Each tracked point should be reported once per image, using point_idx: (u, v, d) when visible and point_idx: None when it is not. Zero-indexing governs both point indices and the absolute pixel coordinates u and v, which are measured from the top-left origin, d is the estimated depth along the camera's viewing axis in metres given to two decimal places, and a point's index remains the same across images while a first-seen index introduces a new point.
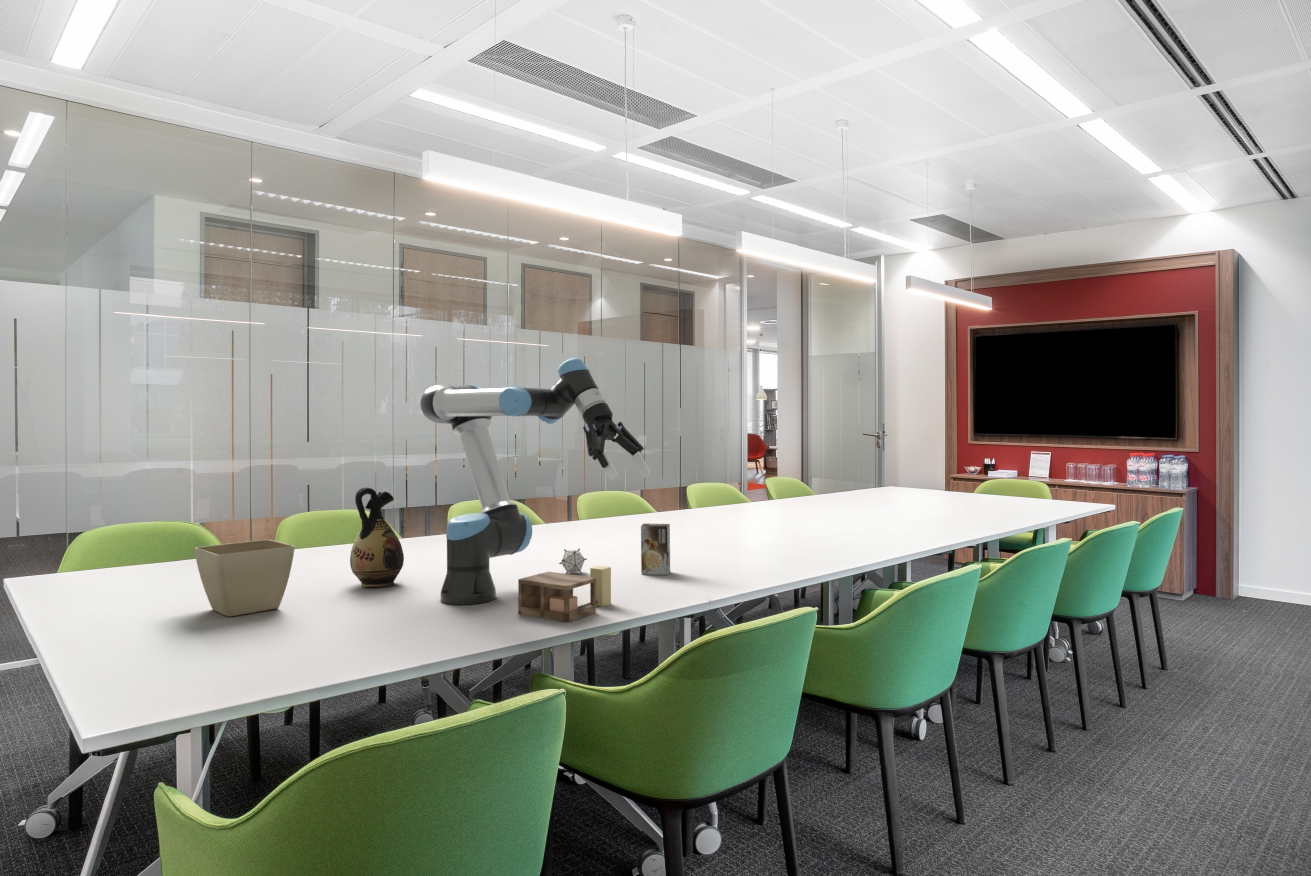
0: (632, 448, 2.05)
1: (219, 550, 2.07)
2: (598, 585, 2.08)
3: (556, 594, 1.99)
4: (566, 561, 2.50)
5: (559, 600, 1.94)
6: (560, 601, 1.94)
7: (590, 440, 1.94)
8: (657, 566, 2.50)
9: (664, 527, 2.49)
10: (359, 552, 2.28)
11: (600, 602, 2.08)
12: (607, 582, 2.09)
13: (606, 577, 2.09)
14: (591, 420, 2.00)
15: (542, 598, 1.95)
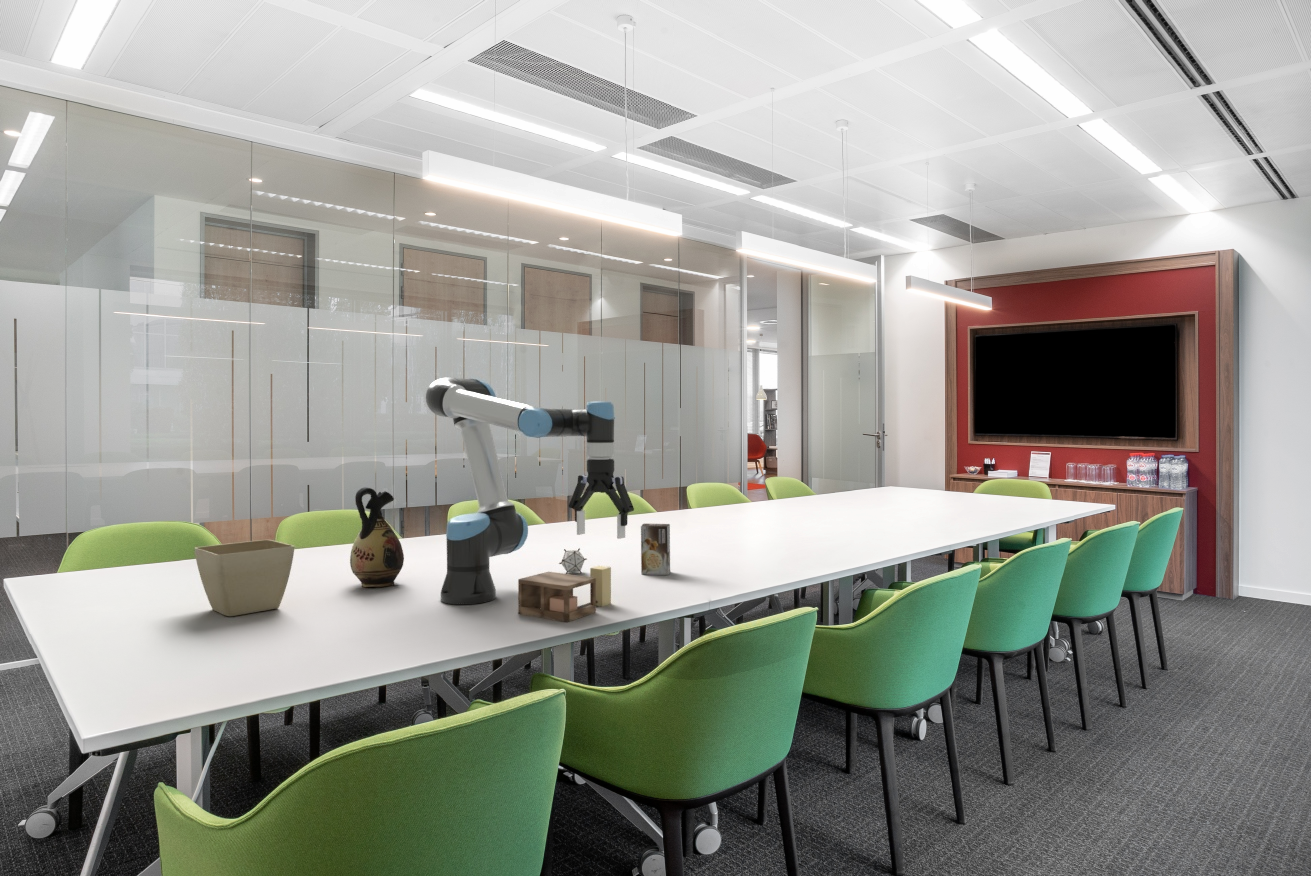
0: (583, 505, 2.13)
1: (219, 550, 2.07)
2: (598, 585, 2.08)
3: (556, 594, 1.99)
4: (566, 561, 2.50)
5: (559, 600, 1.94)
6: (560, 601, 1.94)
7: (627, 497, 2.05)
8: (657, 566, 2.50)
9: (664, 527, 2.49)
10: (359, 552, 2.28)
11: (600, 602, 2.08)
12: (607, 582, 2.09)
13: (606, 577, 2.09)
14: (611, 472, 2.07)
15: (542, 598, 1.95)
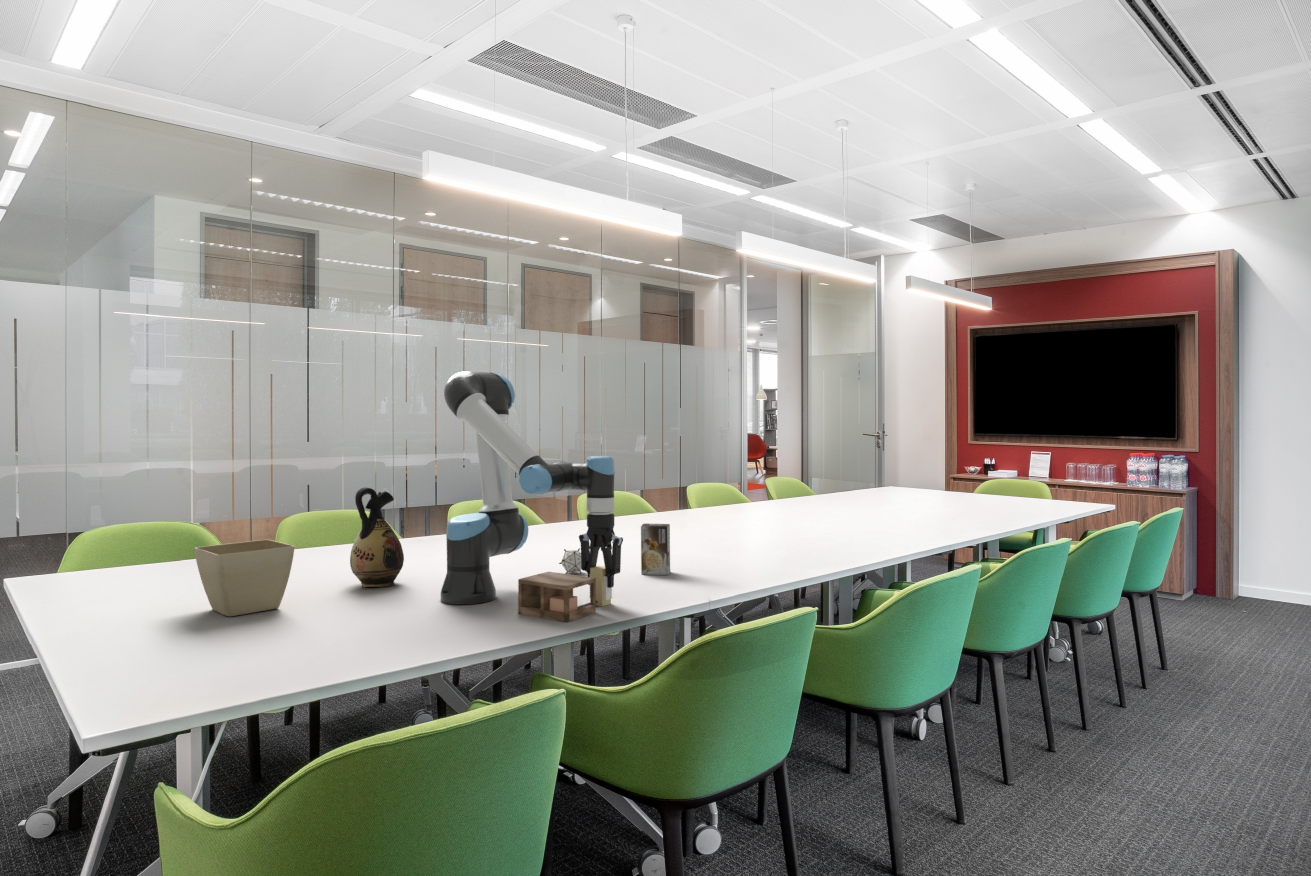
0: (594, 565, 2.12)
1: (219, 550, 2.07)
2: (598, 585, 2.08)
3: (556, 594, 1.99)
4: (566, 561, 2.50)
5: (559, 600, 1.94)
6: (560, 601, 1.94)
7: (618, 560, 2.07)
8: (657, 566, 2.50)
9: (664, 527, 2.49)
10: (359, 552, 2.28)
11: (600, 602, 2.08)
12: None
13: None
14: (612, 527, 2.08)
15: (542, 598, 1.95)
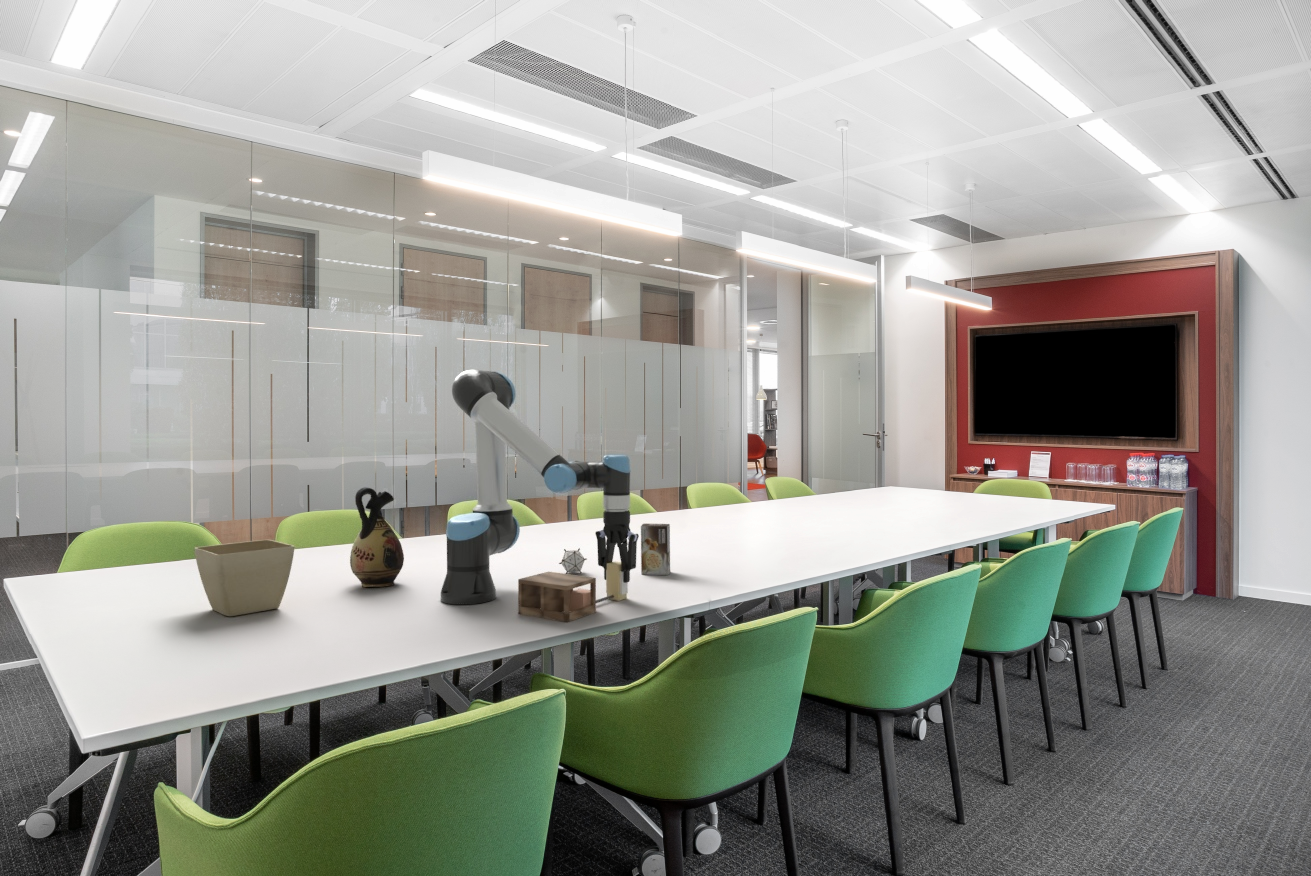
0: (611, 560, 2.18)
1: (219, 550, 2.07)
2: (614, 580, 2.14)
3: (556, 594, 1.99)
4: (566, 561, 2.50)
5: (577, 594, 2.00)
6: (578, 595, 2.00)
7: (634, 555, 2.13)
8: (657, 566, 2.50)
9: (664, 527, 2.49)
10: (359, 552, 2.28)
11: (616, 597, 2.14)
12: None
13: None
14: (627, 523, 2.14)
15: (542, 598, 1.95)
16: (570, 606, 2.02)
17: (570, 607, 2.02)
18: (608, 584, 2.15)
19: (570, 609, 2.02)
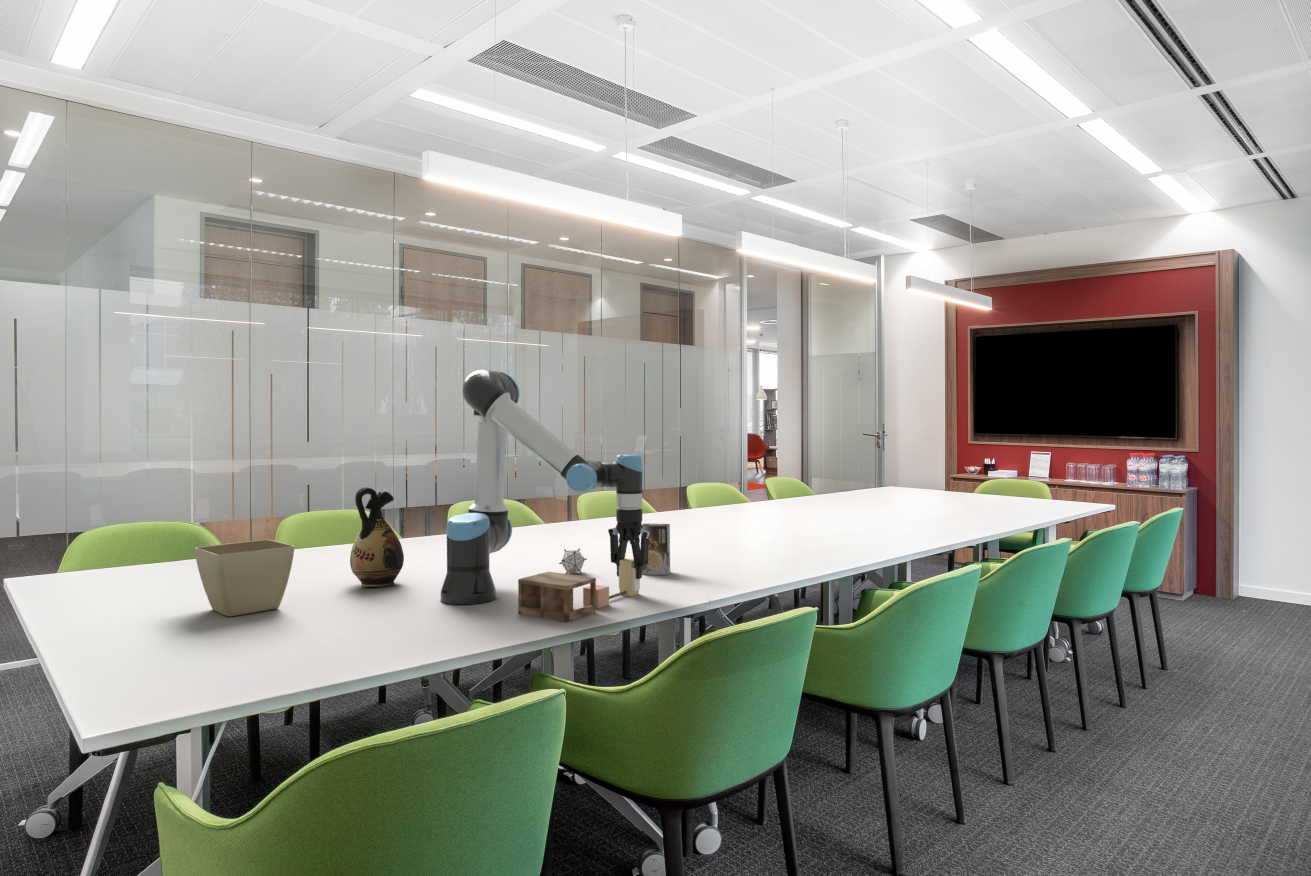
0: (623, 557, 2.23)
1: (219, 550, 2.07)
2: (627, 576, 2.20)
3: (556, 594, 1.99)
4: (566, 561, 2.50)
5: None
6: None
7: (647, 552, 2.19)
8: (657, 566, 2.50)
9: (664, 527, 2.49)
10: (359, 552, 2.28)
11: (629, 593, 2.19)
12: None
13: None
14: (640, 521, 2.20)
15: (542, 598, 1.95)
16: (585, 601, 2.07)
17: (585, 602, 2.07)
18: (621, 580, 2.21)
19: (585, 604, 2.07)
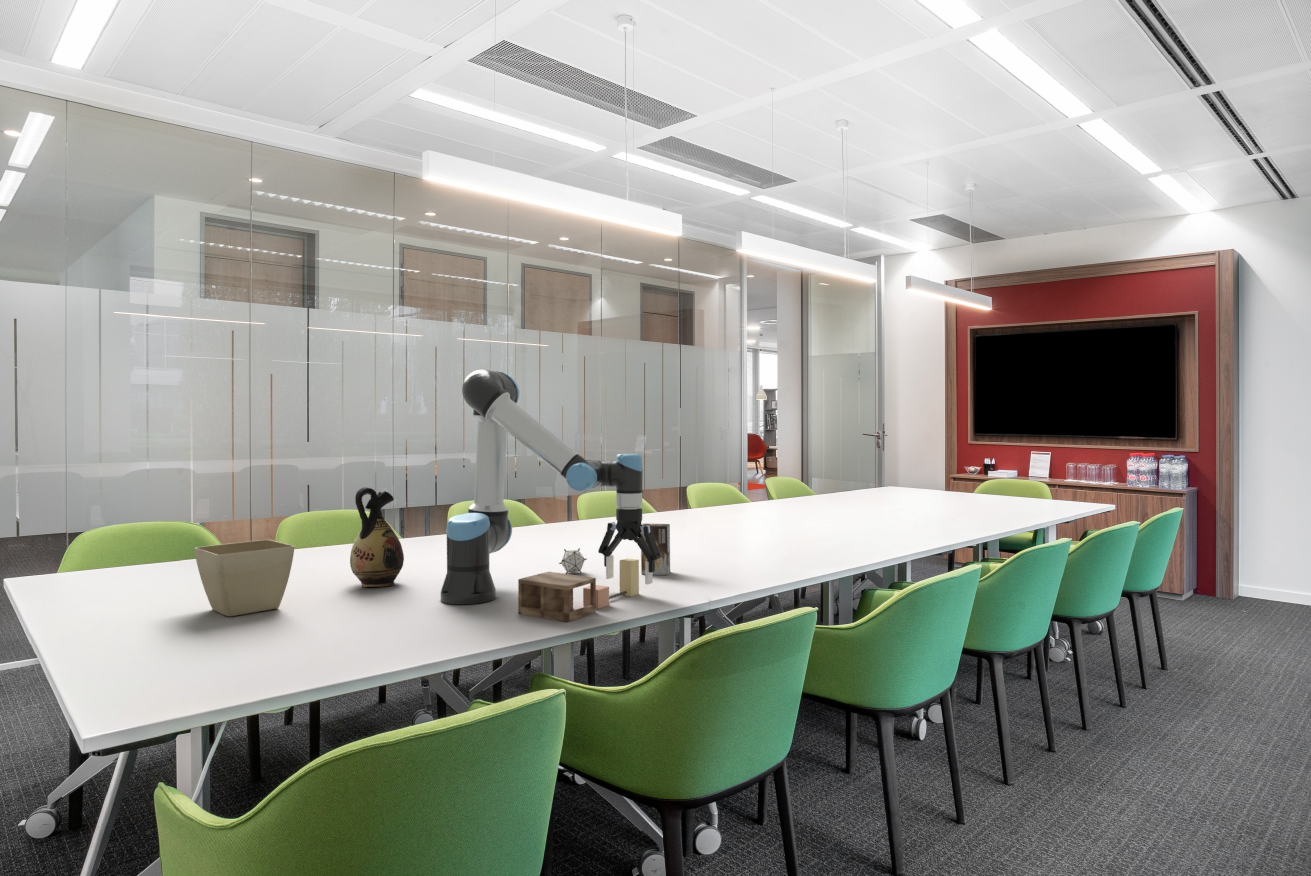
0: (612, 550, 2.25)
1: (219, 550, 2.07)
2: (627, 576, 2.20)
3: (556, 594, 1.99)
4: (566, 561, 2.50)
5: None
6: None
7: (655, 545, 2.17)
8: (657, 566, 2.50)
9: (664, 527, 2.49)
10: (359, 552, 2.28)
11: (629, 593, 2.19)
12: (635, 573, 2.21)
13: (634, 568, 2.21)
14: (640, 521, 2.20)
15: (542, 598, 1.95)
16: (585, 602, 2.07)
17: (585, 603, 2.07)
18: (621, 580, 2.21)
19: (585, 604, 2.07)
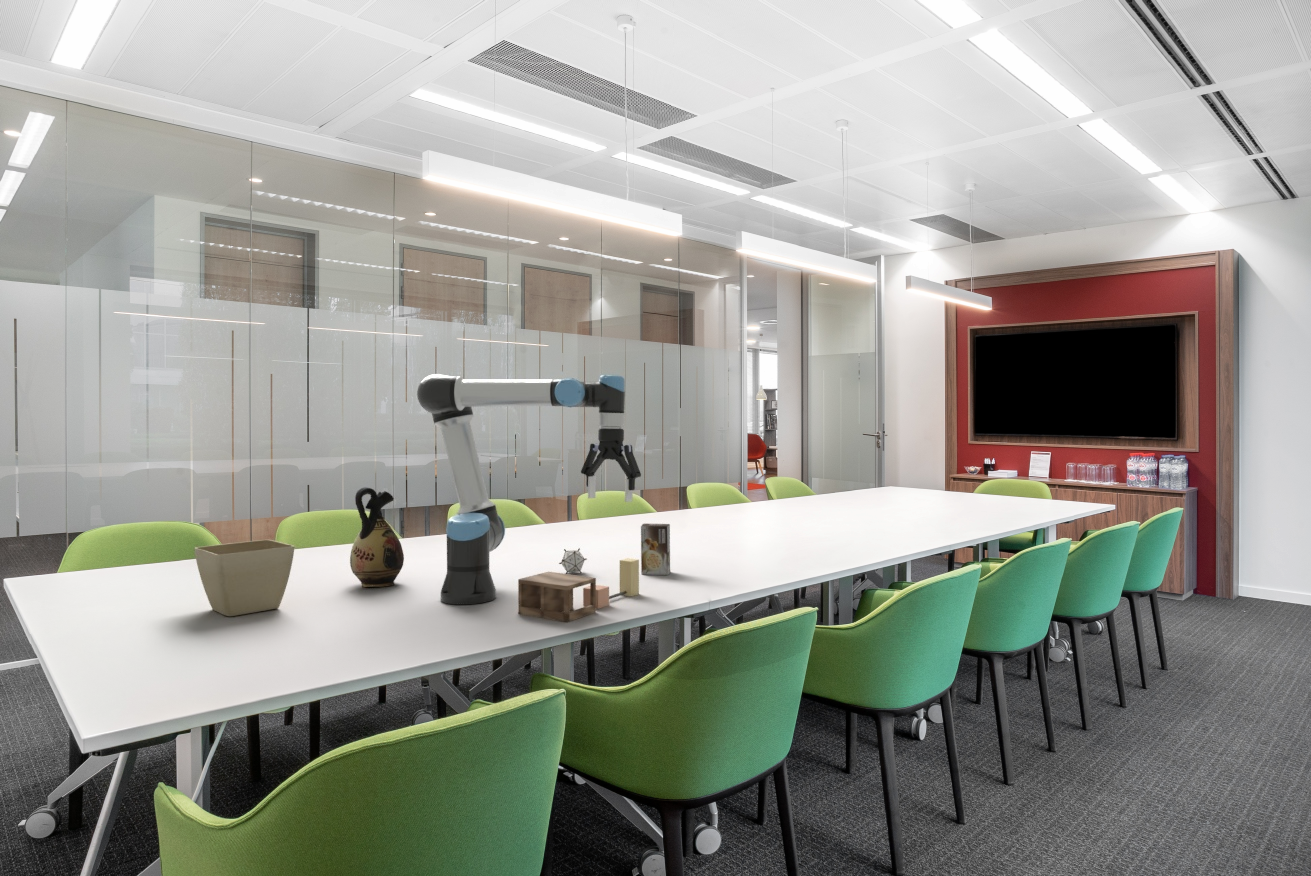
0: (594, 471, 2.31)
1: (219, 550, 2.07)
2: (627, 576, 2.20)
3: (556, 594, 1.99)
4: (566, 561, 2.50)
5: None
6: None
7: (635, 464, 2.22)
8: (657, 566, 2.50)
9: (664, 527, 2.49)
10: (359, 552, 2.28)
11: (629, 593, 2.19)
12: (635, 573, 2.21)
13: (635, 569, 2.21)
14: (621, 440, 2.25)
15: (542, 598, 1.95)
16: (585, 602, 2.07)
17: (585, 603, 2.07)
18: (621, 580, 2.21)
19: (585, 604, 2.07)
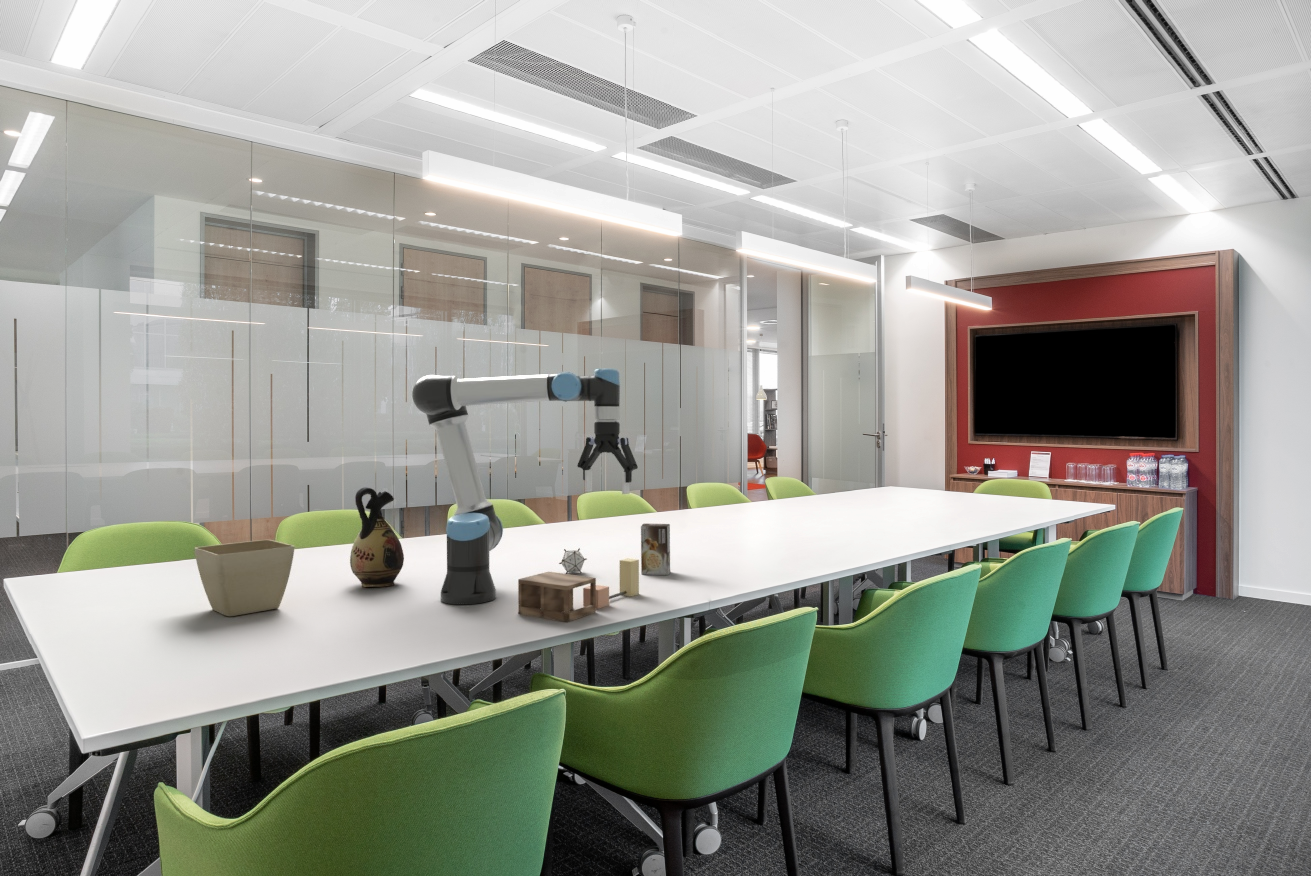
0: (591, 464, 2.32)
1: (219, 550, 2.07)
2: (627, 576, 2.20)
3: (556, 594, 1.99)
4: (566, 561, 2.50)
5: None
6: None
7: (631, 456, 2.24)
8: (657, 566, 2.50)
9: (664, 527, 2.49)
10: (359, 552, 2.28)
11: (629, 593, 2.19)
12: (635, 573, 2.21)
13: (634, 568, 2.21)
14: (617, 433, 2.26)
15: (542, 598, 1.95)
16: (585, 602, 2.07)
17: (585, 603, 2.07)
18: (621, 580, 2.21)
19: (585, 604, 2.07)
